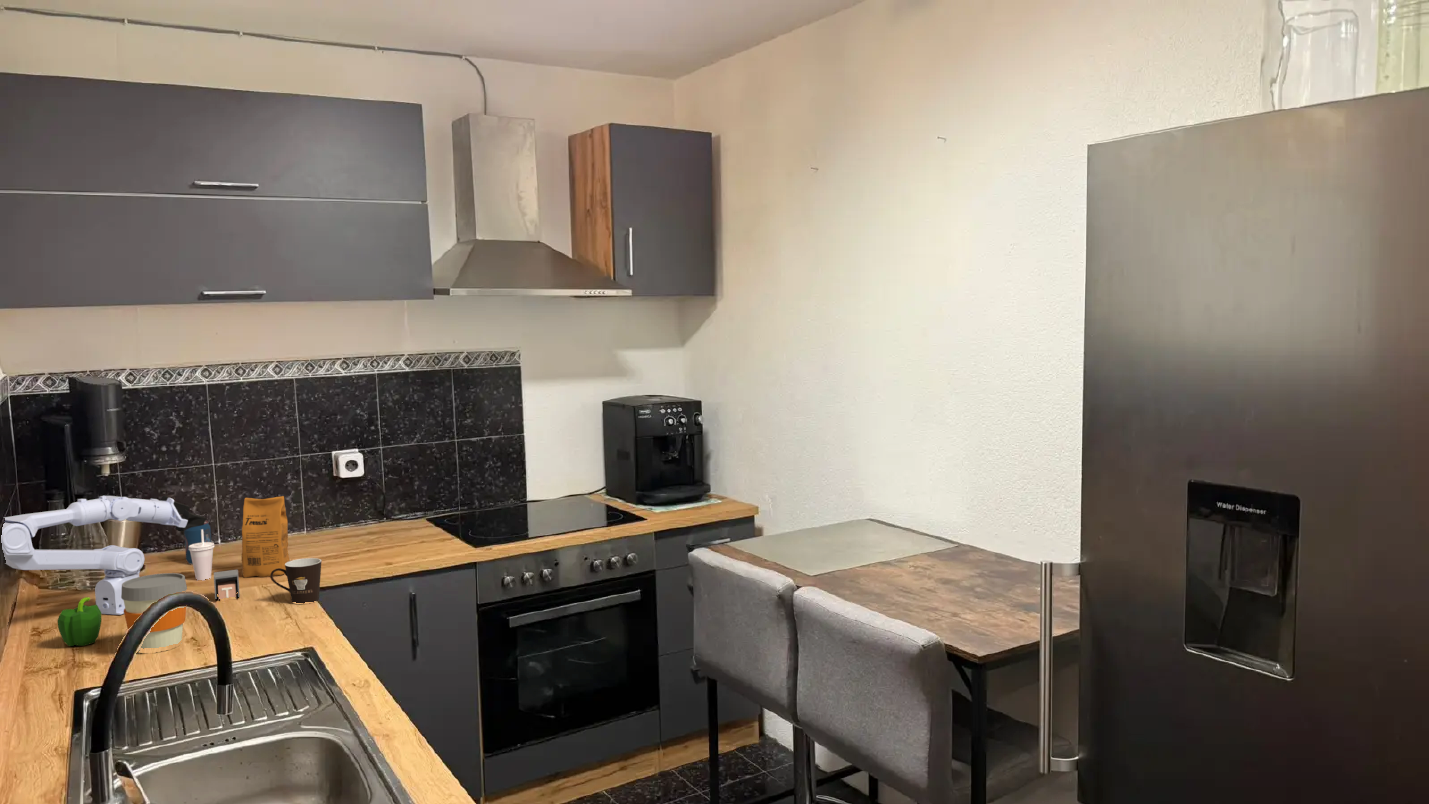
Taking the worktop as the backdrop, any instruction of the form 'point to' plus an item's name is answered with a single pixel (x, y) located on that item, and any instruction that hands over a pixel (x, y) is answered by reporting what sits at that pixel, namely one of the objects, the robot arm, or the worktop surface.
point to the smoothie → (202, 558)
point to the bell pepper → (80, 624)
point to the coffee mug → (302, 579)
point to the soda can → (196, 537)
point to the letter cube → (226, 589)
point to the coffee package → (264, 537)
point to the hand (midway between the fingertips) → (195, 515)
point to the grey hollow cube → (226, 579)
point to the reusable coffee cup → (148, 591)
